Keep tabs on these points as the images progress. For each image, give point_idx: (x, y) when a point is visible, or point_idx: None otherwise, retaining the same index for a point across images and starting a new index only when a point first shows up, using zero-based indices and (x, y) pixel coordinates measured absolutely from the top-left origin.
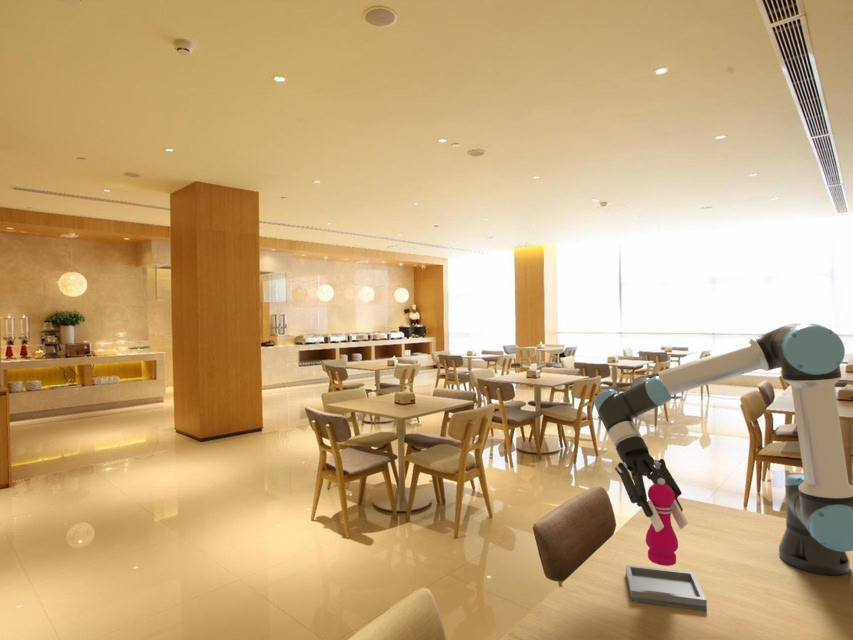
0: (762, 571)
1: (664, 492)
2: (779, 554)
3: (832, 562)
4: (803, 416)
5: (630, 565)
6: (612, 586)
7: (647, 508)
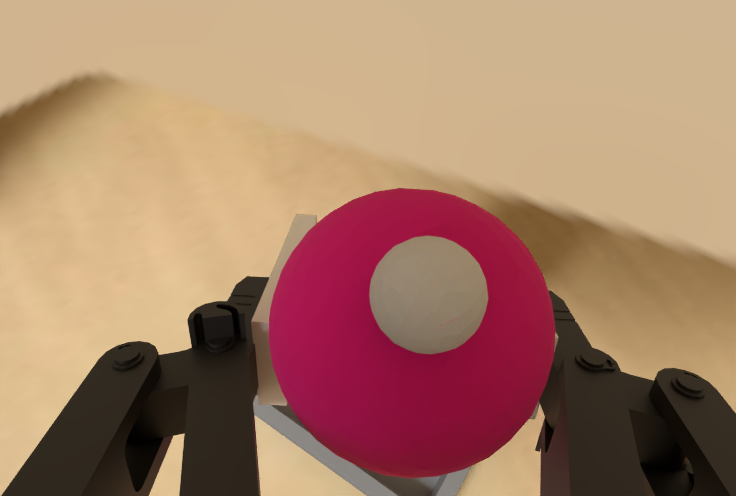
0: None
1: (464, 201)
2: None
3: None
4: None
5: None
6: (529, 462)
7: (561, 322)
